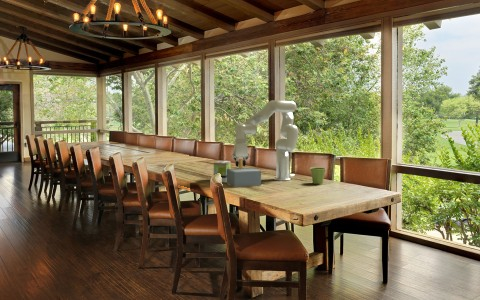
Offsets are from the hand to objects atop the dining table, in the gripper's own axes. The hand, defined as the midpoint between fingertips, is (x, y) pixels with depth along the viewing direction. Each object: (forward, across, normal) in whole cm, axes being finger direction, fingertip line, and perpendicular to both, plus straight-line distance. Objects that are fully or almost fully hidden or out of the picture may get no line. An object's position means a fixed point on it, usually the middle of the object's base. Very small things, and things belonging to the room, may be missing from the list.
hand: (240, 166), depth 307 cm
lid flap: (+3, 0, +6) cm, 7 cm away
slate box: (+13, 0, +6) cm, 14 cm away
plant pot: (+13, -53, +20) cm, 58 cm away
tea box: (+13, +9, -15) cm, 22 cm away
